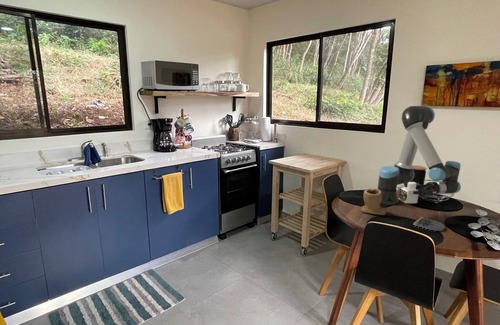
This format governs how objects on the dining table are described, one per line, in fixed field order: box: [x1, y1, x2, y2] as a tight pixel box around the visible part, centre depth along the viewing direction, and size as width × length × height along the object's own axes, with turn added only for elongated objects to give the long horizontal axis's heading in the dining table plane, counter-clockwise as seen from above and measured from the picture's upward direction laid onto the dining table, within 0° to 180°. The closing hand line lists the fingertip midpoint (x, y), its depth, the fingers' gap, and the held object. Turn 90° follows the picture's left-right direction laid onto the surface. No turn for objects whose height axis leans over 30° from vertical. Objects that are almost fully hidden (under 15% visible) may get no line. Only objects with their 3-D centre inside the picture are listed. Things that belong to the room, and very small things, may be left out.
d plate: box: [413, 216, 446, 232], centre depth 158 cm, size 13×13×2 cm
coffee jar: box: [411, 165, 428, 188], centre depth 218 cm, size 11×11×18 cm
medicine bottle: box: [398, 181, 419, 204], centre depth 167 cm, size 7×7×12 cm
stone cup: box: [360, 188, 389, 216], centre depth 174 cm, size 15×12×15 cm
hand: (402, 190), depth 166 cm, fingers closed on medicine bottle, 8 cm apart
